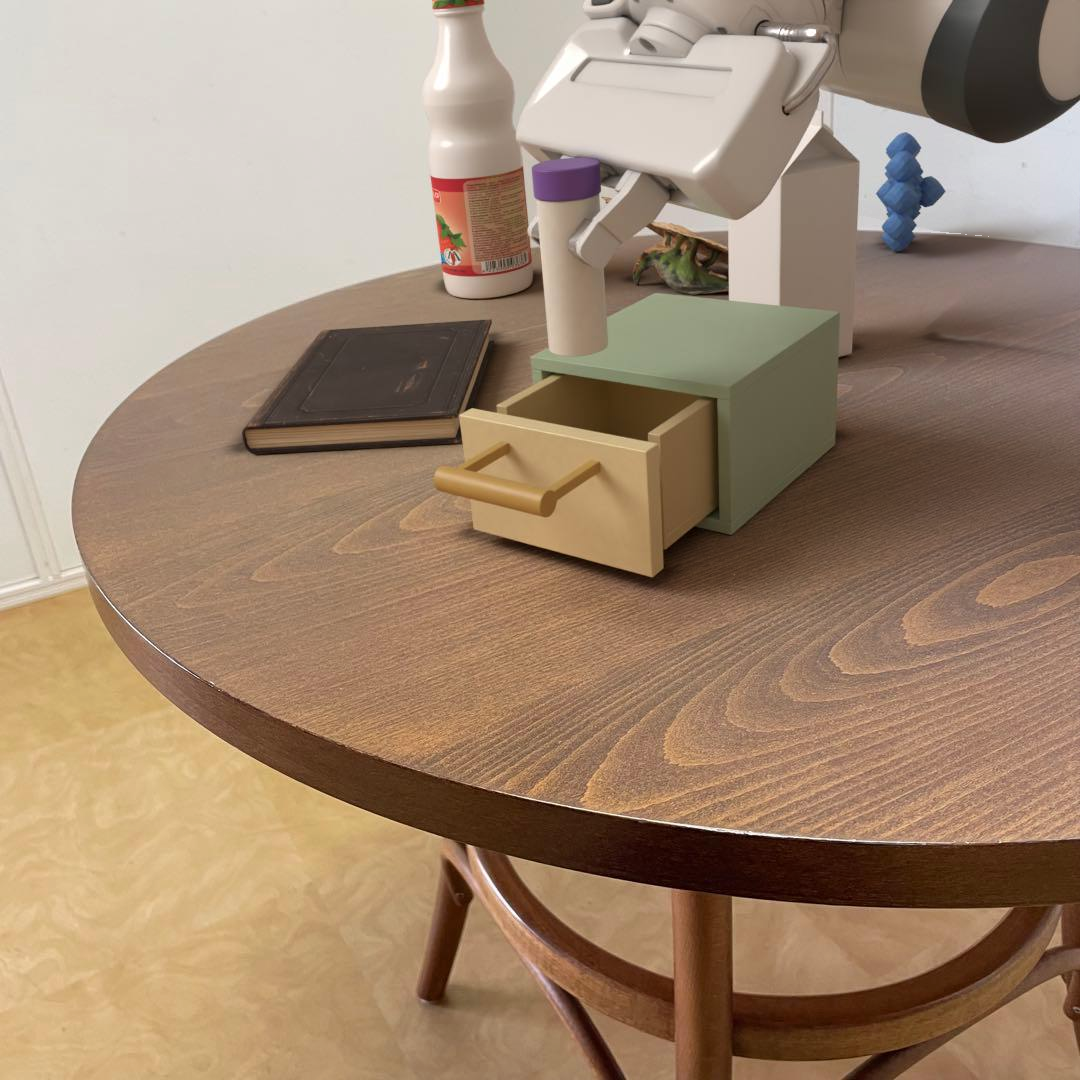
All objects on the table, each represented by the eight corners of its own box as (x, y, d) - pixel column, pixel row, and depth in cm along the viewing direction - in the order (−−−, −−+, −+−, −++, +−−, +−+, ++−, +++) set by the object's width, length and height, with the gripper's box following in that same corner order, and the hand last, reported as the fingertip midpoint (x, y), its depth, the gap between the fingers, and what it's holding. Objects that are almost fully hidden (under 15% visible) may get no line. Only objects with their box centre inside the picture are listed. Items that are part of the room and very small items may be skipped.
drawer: (594, 627, 56) (584, 494, 53) (410, 570, 63) (391, 450, 60) (768, 481, 69) (768, 367, 66) (600, 447, 76) (592, 343, 73)
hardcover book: (494, 343, 102) (491, 318, 100) (460, 443, 81) (456, 413, 80) (321, 354, 103) (316, 330, 102) (245, 455, 83) (239, 426, 82)
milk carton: (778, 374, 88) (781, 117, 79) (728, 351, 94) (726, 110, 85) (852, 356, 90) (863, 104, 82) (799, 334, 96) (804, 97, 87)
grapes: (943, 265, 111) (953, 137, 106) (871, 266, 113) (877, 141, 108) (939, 236, 121) (948, 119, 116) (874, 238, 123) (879, 122, 118)
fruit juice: (522, 299, 114) (492, -8, 101) (433, 301, 116) (393, 1, 103) (543, 274, 122) (517, -13, 109) (460, 276, 124) (425, -5, 111)
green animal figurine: (764, 333, 118) (796, 263, 115) (724, 342, 105) (760, 263, 102) (617, 263, 123) (644, 194, 120) (562, 263, 110) (592, 186, 107)
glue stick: (622, 341, 61) (612, 158, 56) (586, 360, 58) (573, 171, 54) (570, 334, 63) (557, 156, 58) (534, 352, 60) (517, 169, 56)
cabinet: (731, 535, 65) (729, 386, 61) (542, 491, 73) (529, 356, 69) (835, 444, 75) (840, 311, 71) (660, 414, 83) (655, 292, 79)
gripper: (892, 75, 50) (712, 332, 51) (652, 58, 67) (519, 253, 68) (815, -27, 47) (623, 252, 48) (581, -18, 63) (442, 189, 64)
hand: (560, 252), depth 58 cm, fingers closed on glue stick, 3 cm apart
